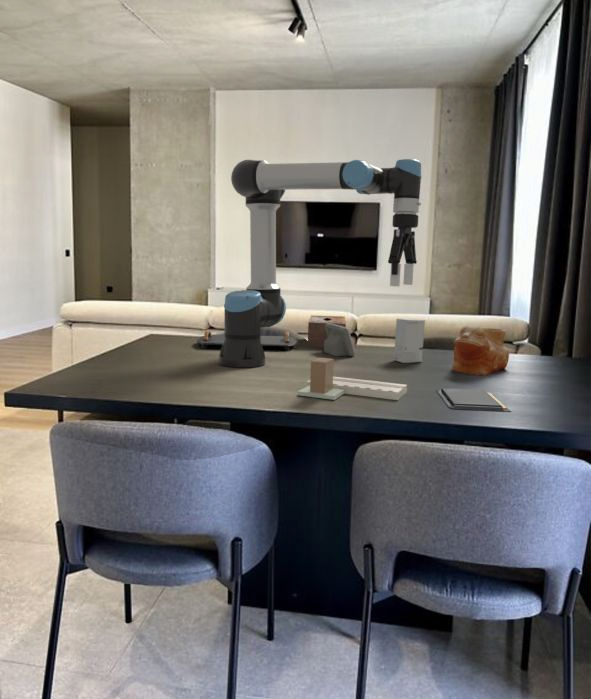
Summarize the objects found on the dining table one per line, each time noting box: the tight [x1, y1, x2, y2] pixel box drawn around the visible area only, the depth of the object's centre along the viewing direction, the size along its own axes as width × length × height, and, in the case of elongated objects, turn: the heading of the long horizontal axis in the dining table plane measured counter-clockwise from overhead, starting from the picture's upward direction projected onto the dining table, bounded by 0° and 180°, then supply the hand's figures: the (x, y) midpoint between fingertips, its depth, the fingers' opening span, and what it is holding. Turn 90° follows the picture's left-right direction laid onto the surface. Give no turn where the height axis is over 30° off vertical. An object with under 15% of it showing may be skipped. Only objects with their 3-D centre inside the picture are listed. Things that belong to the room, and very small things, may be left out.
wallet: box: [436, 388, 512, 413], centre depth 150 cm, size 20×2×15 cm
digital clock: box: [323, 323, 356, 357], centre depth 215 cm, size 16×9×11 cm, turn 12°
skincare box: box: [393, 317, 426, 364], centre depth 203 cm, size 8×6×15 cm
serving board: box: [196, 329, 298, 352], centre depth 228 cm, size 39×23×6 cm, turn 91°
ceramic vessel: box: [451, 325, 510, 376], centre depth 191 cm, size 14×26×15 cm, turn 137°
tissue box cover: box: [307, 315, 347, 349], centre depth 240 cm, size 26×14×10 cm, turn 176°
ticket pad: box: [305, 376, 408, 401], centre depth 158 cm, size 25×10×2 cm, turn 67°
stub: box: [297, 357, 345, 401], centre depth 151 cm, size 10×8×9 cm
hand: (401, 285), depth 179 cm, fingers open, 13 cm apart
